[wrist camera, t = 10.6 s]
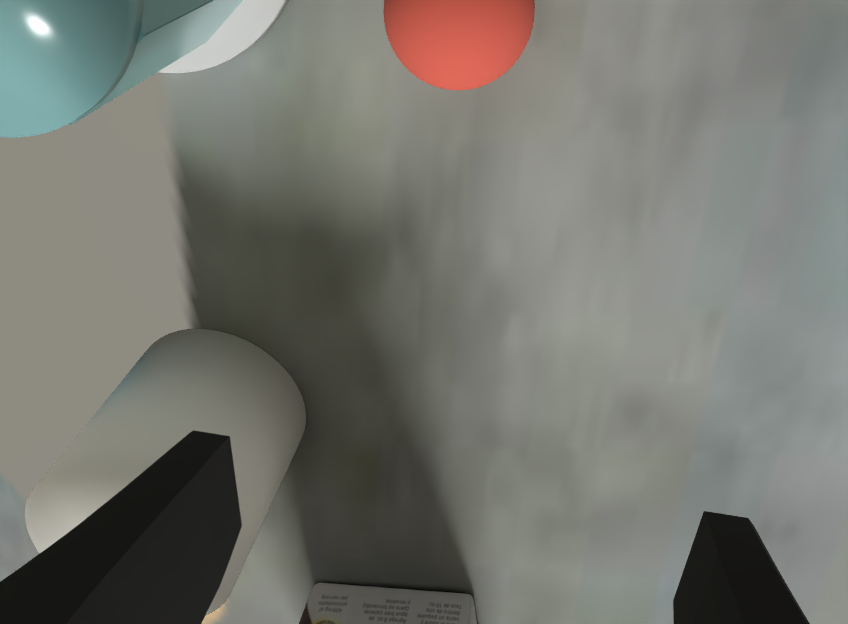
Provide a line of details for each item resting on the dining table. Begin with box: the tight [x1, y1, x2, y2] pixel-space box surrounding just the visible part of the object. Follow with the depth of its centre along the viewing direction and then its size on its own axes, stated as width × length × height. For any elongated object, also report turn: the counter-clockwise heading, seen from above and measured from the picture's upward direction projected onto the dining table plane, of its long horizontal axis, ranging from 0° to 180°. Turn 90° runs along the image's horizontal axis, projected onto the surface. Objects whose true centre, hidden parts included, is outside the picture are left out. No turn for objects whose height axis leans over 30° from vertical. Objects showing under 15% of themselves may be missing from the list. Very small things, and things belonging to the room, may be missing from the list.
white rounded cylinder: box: [25, 329, 306, 615], centre depth 22 cm, size 6×6×6 cm
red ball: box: [384, 0, 535, 90], centre depth 15 cm, size 3×3×3 cm
